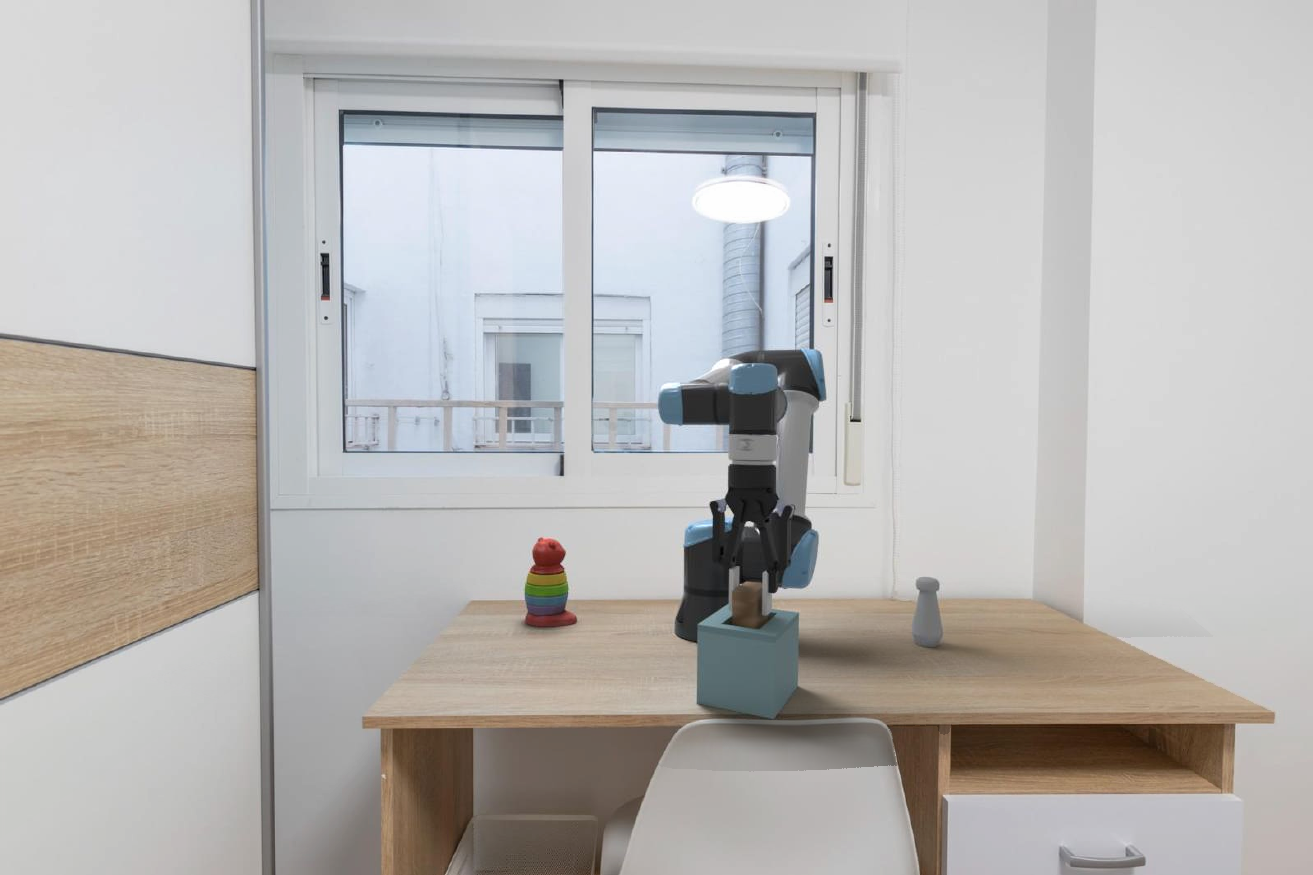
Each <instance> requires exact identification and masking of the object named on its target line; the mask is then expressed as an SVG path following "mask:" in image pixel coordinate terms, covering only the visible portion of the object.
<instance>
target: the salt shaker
mask: <svg viewBox="0 0 1313 875" xmlns="http://www.w3.org/2000/svg"><path fill="white" fill-rule="evenodd" d="M940 584H941V583H940V581H939V580H938V579H937V578H935V577H930V576H921V577H918V578H917V579H916V581H915V587H916V590H918V591H919V592H918V597H917V601H916V606H915V610H914V614H913V618H912V619H913V620H912V624H911V628H910V631H911V634H912V637H913V639H914V642H915V644H916V645H917V646H921V647H925V648H936V647H938V646H939V645H940V643H941V640H942V639H943V636H944V631H943V624H942V620H941V613H940V608H939V607H940V606H939V600H938V595H937V594H938V593H937V592H938V591H940Z"/></svg>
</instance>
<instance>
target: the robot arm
mask: <svg viewBox="0 0 1313 875" xmlns="http://www.w3.org/2000/svg"><path fill="white" fill-rule="evenodd" d="M827 398H828V397H827V388H826V377H825V369H824V359H823V355H822V353H821V351H820V350H818V349H816V348H815V349H813V348H812V349H811V348H807V349H806V348H804V347H803V348H802V347H801V348H800V349H768V350H767V349H766V350H763V349H762V350H760V349H756V350H749V351H743V352H741V353H737V354H735V355H732V356H729V357H726V358H724V359H722V360H719V361H718V362H717V363H716V364H715V365H714V366H713V367H712V369H711V370H710V371H708V372H706V373H705V374H702V375H700V376H698V377H697V378H694V379H692V380H691V381H690V380H689V382H680V381H676V382H669V383H664V384H663V385H662V386H661V387H660V389H659V393H658V397H657V408H658V415H659V418H660V419H661V422H663V424H665V425H674V426H675V425H676V426H679V427H682V426H728V454H727V455H728V456H727V457H728V460H730V461H731V463H729V465H728V466H727V493H726V494H725V496H724V497H723V498H720V499H715V500H711V501H710V502H709V504H708V505H709V508H710V512H711V514H712V518H711V519H710V518H708V519H703V520H702V519H701V520H697V521H694V522H693V521H692V522H691V523H689V524H688V525H687V526H686V527H685V530H684V541H683V546H682V547H683V594H682V598H681V600H680V604H679V606H678V609H677V612H676V616H675V619H674V634H676V635H677V636H679V637H680V638H682V639H684V640H688V641H691V642H696V643H697V635H698V624H699V623H701V622H702V621H703V620H705V619H706V618H708V617H709V616H711V615H712V614H714V613H715V612H717V611H718V610H720V609H721V608H723V607H724V606H726V605H727V604H729V610H730V611H732V590H734V589H736V588H737V587H739V586H740V585H742V584H743V583H745V582H746V581H747V582H758V583H762V615H766V616H767V615H768V614H769V613H771V612H772V609H773V594H776V593H777V592H778V590H779V589H783V590H787V589H800V590H801V589H802V590H803V589H805V588H807V587H809V585H810V584H811V582H812V580H813V577H814V574H815V568H816V564H817V558H818V550H819V549H818V548H819V543H820V542H819V541H820V539H819V538H820V537H819V536H820V535H819V532H818V531H817V530H815V529H813V528H812V527H813V526H812V524H813V522H812V520H811V519H810V518H809V517H808V516H807V515H806V503H807V502H806V501H807V486H808V470H809V457H810V456H809V455H810V454H809V453H810V441H811V425H812V424H811V423H812V415H814V414H815V413H816V412H817V411H818V410H819V408H820V402H821V403H823V401H826V400H827ZM727 506H728V508H729V509H730V511H731V513H732V514H733V517H726V514H725V512H726V511H727ZM747 522H751V523H752V524H753V525H752V526H749V525H748V526H747V525H746V523H747Z"/></svg>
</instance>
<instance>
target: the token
mask: <svg viewBox="0 0 1313 875" xmlns="http://www.w3.org/2000/svg"><path fill="white" fill-rule="evenodd" d="M767 622H768V615H767V616H766V615H762V583H758V582H747V581H746V582H745V583H743V584H740V586H739V587H737V588H736V589H734V590H732V626H739V627H746V628H752V629H760V628H761V627H762V626H763V625H765V624H766V623H767Z"/></svg>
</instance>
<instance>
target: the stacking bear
mask: <svg viewBox="0 0 1313 875" xmlns="http://www.w3.org/2000/svg"><path fill="white" fill-rule="evenodd" d="M531 553H532V559H533V562H534V564H533V565H532V566H531V568H530V569H529V571H528V573H527V576H526V581H525V582H524V583H525V584H524V601H525V606H526V609H527V612H526V615H525V617H524V618H525V620H524V621H525V623H526V624H528V625H531V626H533V627H560V626H561V627H562V626H568V625H572V624H576V622H577V621H578V616H577V615H576V614H575V613H572V612H571V611H568V610H566V606H567V601H568V597H569V581H568V577H567V573H566V571H565V567H564V566H563V564H561V563H562V562H563V561H564V560H565V558H566V554H567V552H566V550H565V549H564V548H563V545H561V543H560V542H559V541H558V540H557V539H554V538H544V537H543V536H540V537H539V538H537V542H536V543H534V546H533V548H532V552H531Z"/></svg>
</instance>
